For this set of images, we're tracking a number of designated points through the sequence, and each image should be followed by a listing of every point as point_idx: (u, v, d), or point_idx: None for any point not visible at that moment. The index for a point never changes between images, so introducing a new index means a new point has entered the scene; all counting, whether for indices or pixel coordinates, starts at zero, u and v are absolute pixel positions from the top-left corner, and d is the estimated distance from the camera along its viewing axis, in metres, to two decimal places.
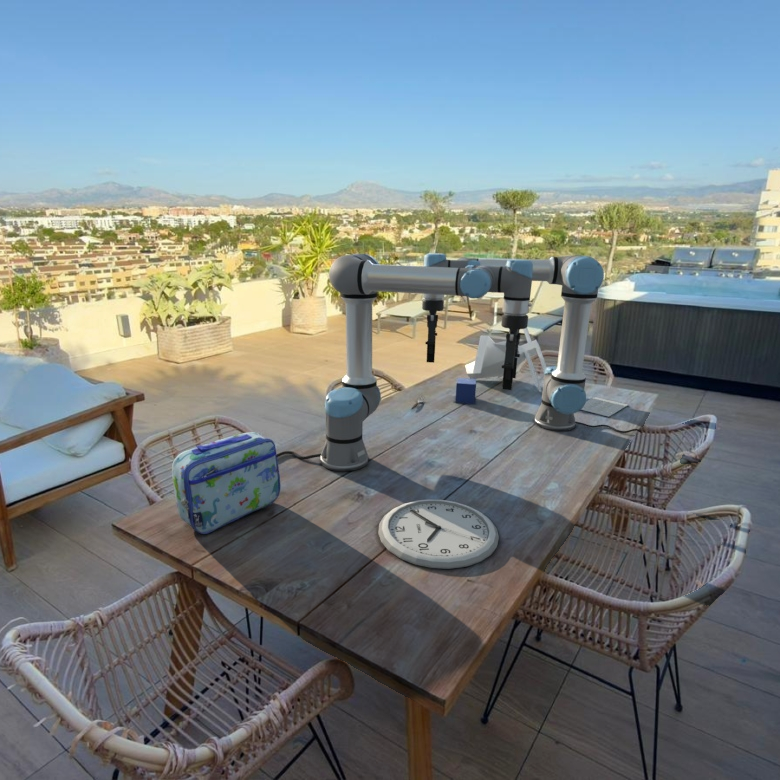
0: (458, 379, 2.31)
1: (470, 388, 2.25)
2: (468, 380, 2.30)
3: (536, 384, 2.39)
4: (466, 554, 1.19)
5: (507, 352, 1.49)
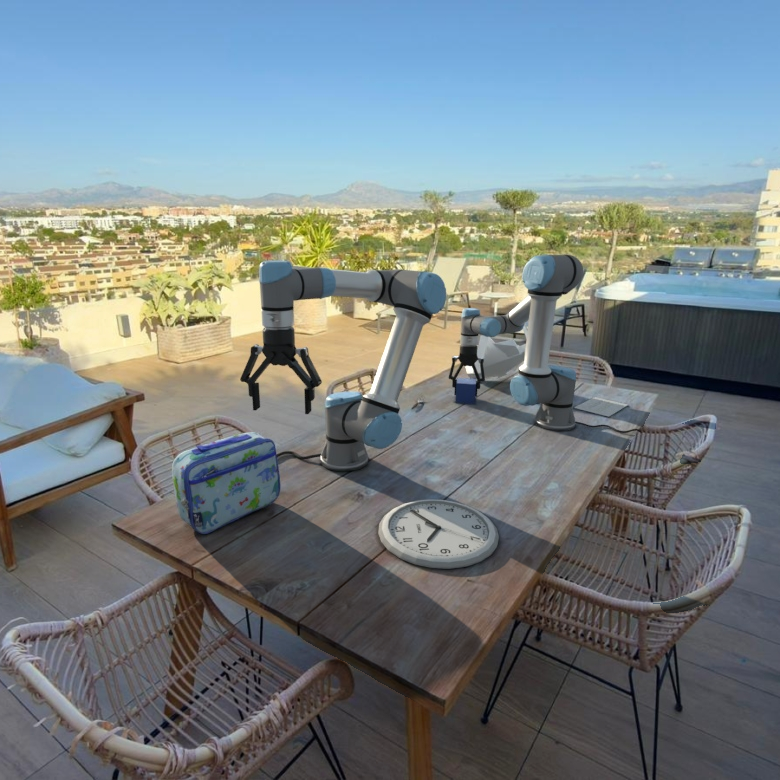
0: (458, 379, 2.31)
1: (470, 388, 2.25)
2: (468, 380, 2.30)
3: None
4: (466, 554, 1.19)
5: None
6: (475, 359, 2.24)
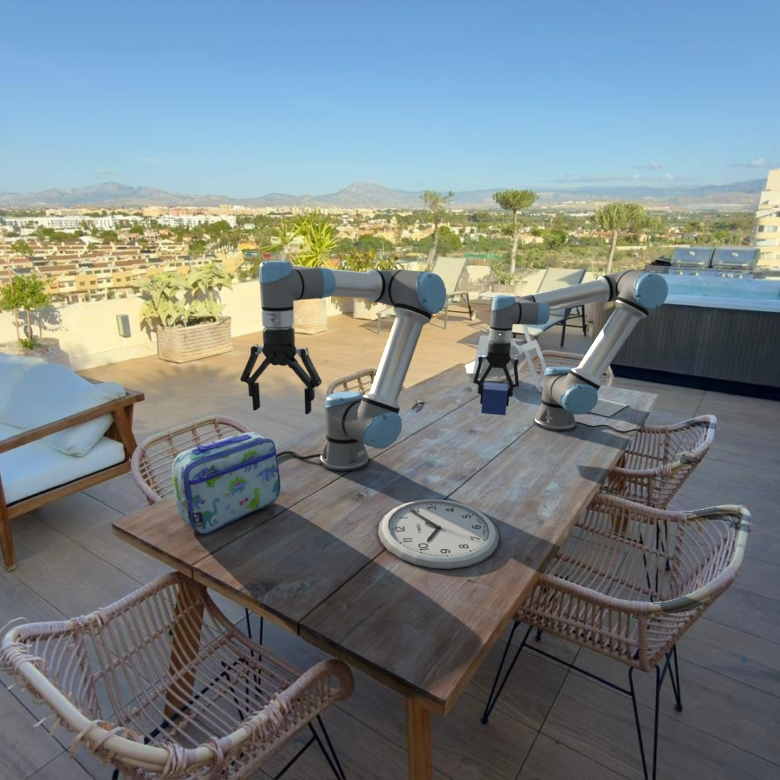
0: (485, 384, 1.86)
1: (500, 395, 1.80)
2: (498, 385, 1.85)
3: (536, 384, 2.39)
4: (466, 554, 1.19)
5: None
6: (507, 359, 1.79)
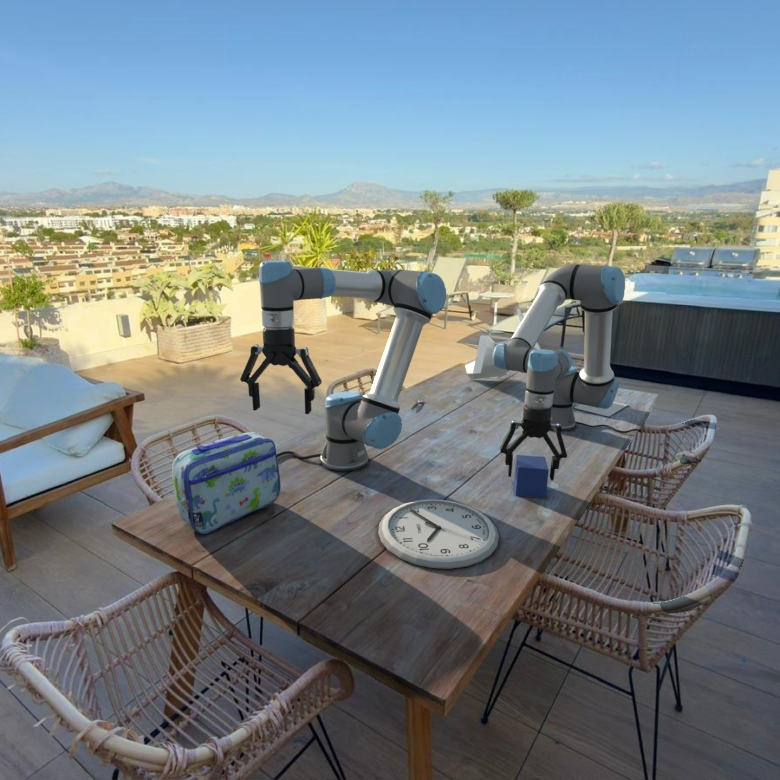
0: (519, 458, 1.53)
1: (540, 474, 1.47)
2: (534, 460, 1.52)
3: None
4: (466, 554, 1.19)
5: None
6: (548, 428, 1.46)
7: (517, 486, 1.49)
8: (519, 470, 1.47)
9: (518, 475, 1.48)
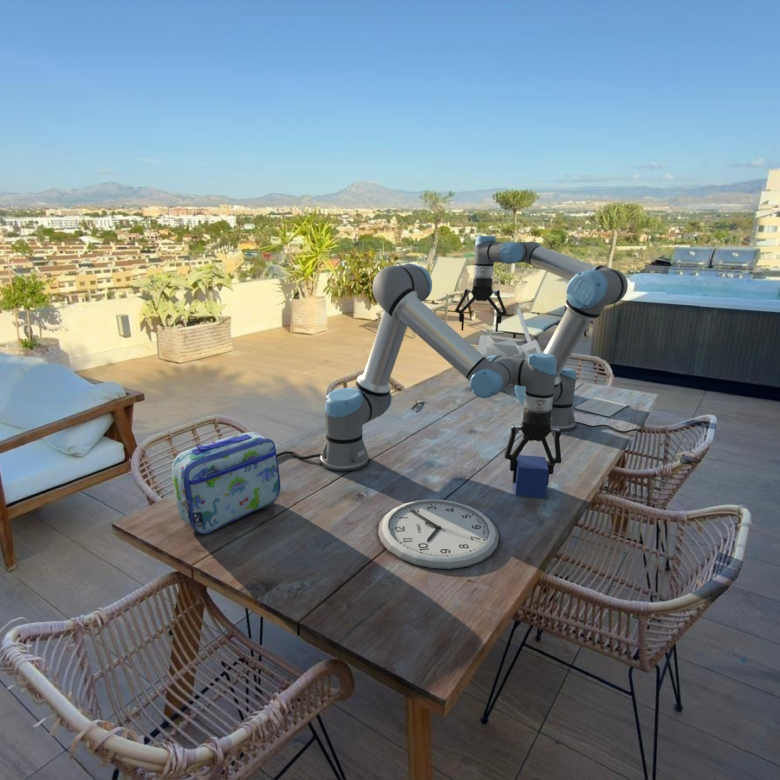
0: (518, 458, 1.53)
1: (539, 474, 1.47)
2: (534, 460, 1.52)
3: None
4: (466, 554, 1.19)
5: (508, 442, 1.51)
6: (490, 293, 2.04)
7: (517, 486, 1.49)
8: (519, 470, 1.47)
9: (518, 475, 1.48)
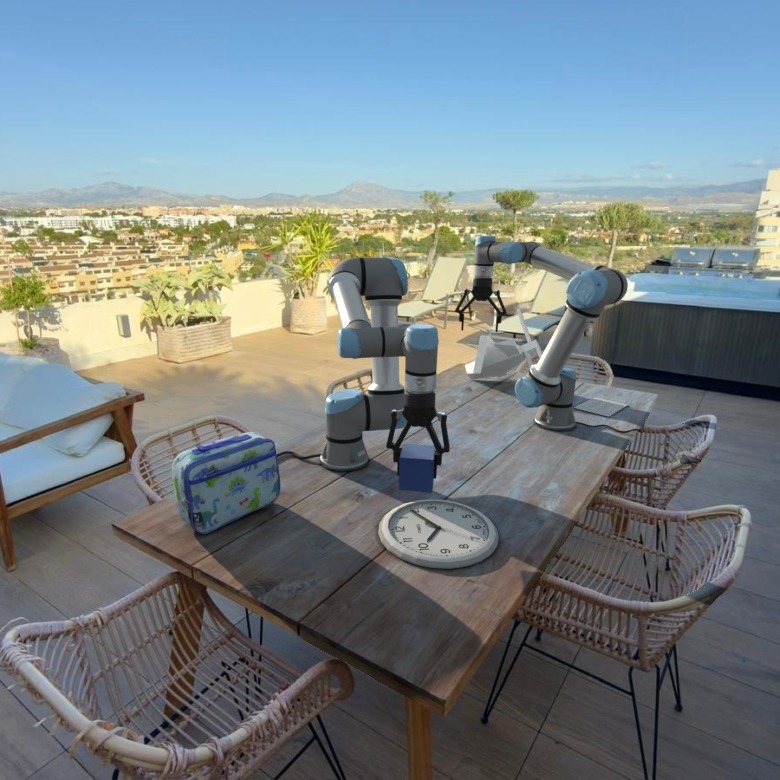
0: (404, 447, 1.33)
1: (424, 465, 1.27)
2: (421, 449, 1.32)
3: None
4: (466, 554, 1.19)
5: None
6: (490, 293, 2.04)
7: (400, 480, 1.29)
8: (401, 461, 1.27)
9: (400, 467, 1.28)
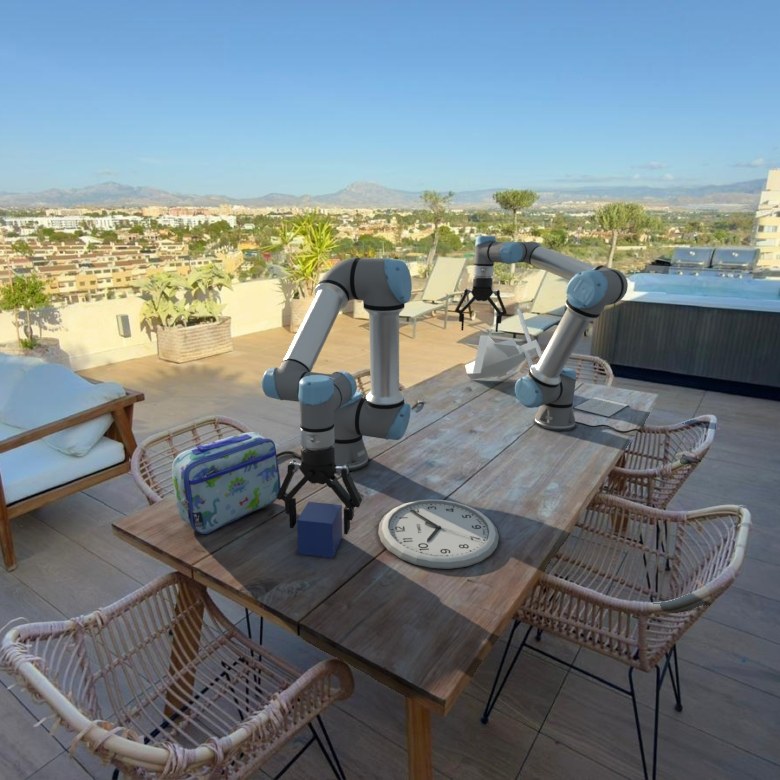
0: (307, 507, 1.24)
1: (322, 529, 1.18)
2: (324, 510, 1.23)
3: None
4: (466, 554, 1.19)
5: None
6: (490, 293, 2.04)
7: (299, 543, 1.21)
8: (298, 524, 1.19)
9: (298, 530, 1.20)
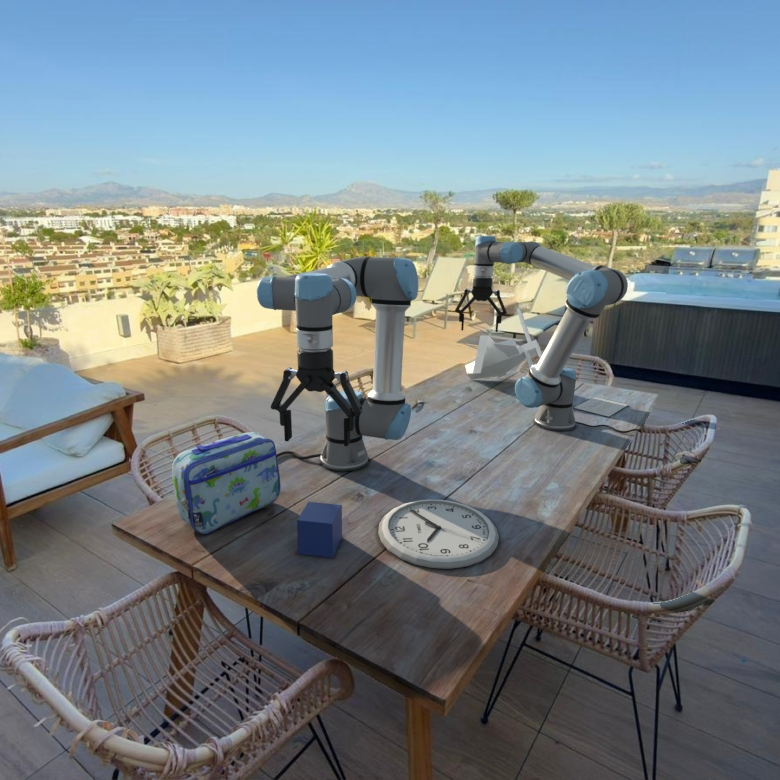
0: (307, 507, 1.24)
1: (322, 529, 1.18)
2: (324, 510, 1.23)
3: None
4: (466, 554, 1.19)
5: None
6: (490, 293, 2.04)
7: (299, 543, 1.21)
8: (298, 524, 1.19)
9: (298, 530, 1.20)
